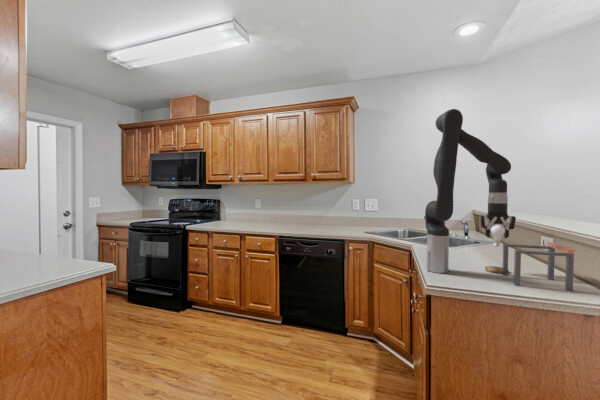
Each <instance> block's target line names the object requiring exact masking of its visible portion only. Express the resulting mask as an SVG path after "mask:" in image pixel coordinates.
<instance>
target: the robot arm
mask: <svg viewBox="0 0 600 400" xmlns="http://www.w3.org/2000/svg"><path fill="white" fill-rule="evenodd" d="M463 121H464V118H463V114H462V112H461V111H460V110H459V109H457V108H451V109H448V110H446V111H445V112H443V113H442V114H440V115H439V116H438V117H437V118H436V120H435V128H436V129H437V130H438V131H439V132H441V133H442V138H441V142H440V145H439V147H438V149H437V152H436V155H435V157H434V162H433V170H432V171H433V177H434V180H435V184H436V187H437V189H436V190H437V194H436V200H432V201H430V202H428V203H427V205H426V207H425V210H424V211H425V213H424V214H425V215H424V216H425V217H424V220H425V221H424V222H425V228H426V232H427V233H426V236H427V237H426V238H427V239H426V246H427V247H426V271H427V272H431V273H438V274H447V273H449V269H450V268H449V265H450V263H449V257H450V256H449V255H450V253H449V252H450V230H449V228H448V227H447V226H446V225H445V222H446V221H449V220H450V219H451V218H452V216H453V213H454V186H455V175H456V168H457V162H458V161H457V157H458V150H459V145H460V146H461V147H462V148H464V149H465V150H466V151H467V152H469V154H470V155H472V156H473V157H474V158H475V159H476V160H478V162H480V163H484V164H487V165H486V168H485V173H486V178H487V181H488V195H487V214H486V215H483V214H481V215H479V220H480V227H481V228H483V229H485V230H484V231H485V233H484V235H485V236H486V237H487V238H490V237H491V234H490V230H489V229H490V227H491V226H492V225H493V224H502V225H503V226H504V227H505V233H504V235H503V237H504V239H508V238H509V237H510V231H511V230H514V229H515V226H516V219H517V217H516V216H514V215H509V214H508V198H509V197H508V182H507V181H506V180H505V179H503V176H502V175H506V174H508V173H509V172H511V169H512V165H511V162H510V160H508V159H507V158H506V157H504V155H501V154H500V153H498V152H496V151H494V150H493V149H492V148H491V146H489V145H488V144H486V143H485V142H484V141H482V140H481V139H480V138H479V137H476V136H473V135H472V134H470V133H468V132H467V131H465V130H463V129H462V127H463ZM486 219H488V221H487V223H486V222H485V220H486ZM507 220H509V225H508V223H507V222H506V221H507Z"/></svg>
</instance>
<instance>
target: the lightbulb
mask: <svg viewBox="0 0 600 400" xmlns="http://www.w3.org/2000/svg"><path fill="white" fill-rule="evenodd" d="M489 230H490V236H491V237H492V240H493V246H494V247H500V246H501V240H502V238H503V237H504V233H505V227H504V226H503V225H502V224H493V225H492V226H491V227H490V229H489Z"/></svg>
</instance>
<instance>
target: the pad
mask: <svg viewBox="0 0 600 400" xmlns="http://www.w3.org/2000/svg"><path fill="white" fill-rule="evenodd" d="M502 269H503V266H502V267H501V266H495V265H494V266H493V265H488V266H485V268H484V270H485V271H486V272H489V273H493V274H498V275H503V274H502Z"/></svg>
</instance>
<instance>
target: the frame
mask: <svg viewBox="0 0 600 400" xmlns="http://www.w3.org/2000/svg"><path fill="white" fill-rule="evenodd" d="M509 248H521V249H522V248H523V250H519V249H514V258H513V259H514V260H513V261H514V263H513V264H514V265H513V269H514V270H513V284H514V286H517V287H519V286H521V269H522V268H521V266H522V265H521V264H522V263H521V262H522V254H523V255H537V256H538V255H539V256H541V255H542V256H547V280H550V281H552V280H553V281H554V280H555V257H565V279H564V280H565V283H564V284H565V286H564V289H565V290H566V291H570V292H574V262H575V259H574V258H575V254H569V253H565V252H556V251H555V250H556V249H555V248H552V247H550V246H548V245H535V244H533V245H531V244H530V245H529V244H517V243H516V244H513V243H503V244H502V268H503V269H502V274H501V275H502V276H509ZM524 249H540V250H541V249H542V250H547V251H540V250H539V251H538V250H537V251H535V250H524Z"/></svg>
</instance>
